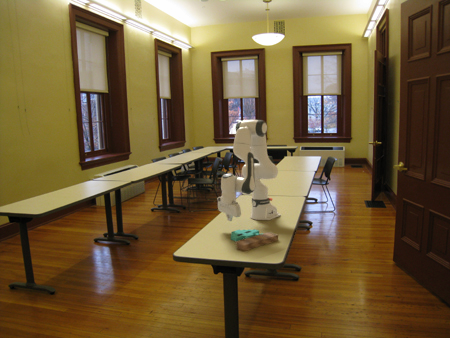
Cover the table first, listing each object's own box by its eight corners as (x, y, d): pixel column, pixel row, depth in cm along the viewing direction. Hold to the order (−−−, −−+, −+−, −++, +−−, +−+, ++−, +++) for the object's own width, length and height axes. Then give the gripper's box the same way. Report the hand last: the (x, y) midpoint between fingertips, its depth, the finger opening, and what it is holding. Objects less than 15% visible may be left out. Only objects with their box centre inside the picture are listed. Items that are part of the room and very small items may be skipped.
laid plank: (268, 237, 218) (268, 231, 218) (278, 240, 212) (278, 235, 212) (234, 247, 203) (234, 241, 203) (243, 251, 197) (243, 245, 196)
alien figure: (270, 237, 219) (246, 230, 234) (270, 233, 219) (246, 227, 234) (247, 245, 206) (223, 238, 221) (247, 242, 206) (223, 234, 220)
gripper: (242, 201, 222) (243, 223, 225) (223, 195, 239) (224, 216, 241) (234, 203, 219) (235, 225, 221) (215, 197, 235) (216, 218, 238)
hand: (229, 220), depth 231 cm, fingers closed
